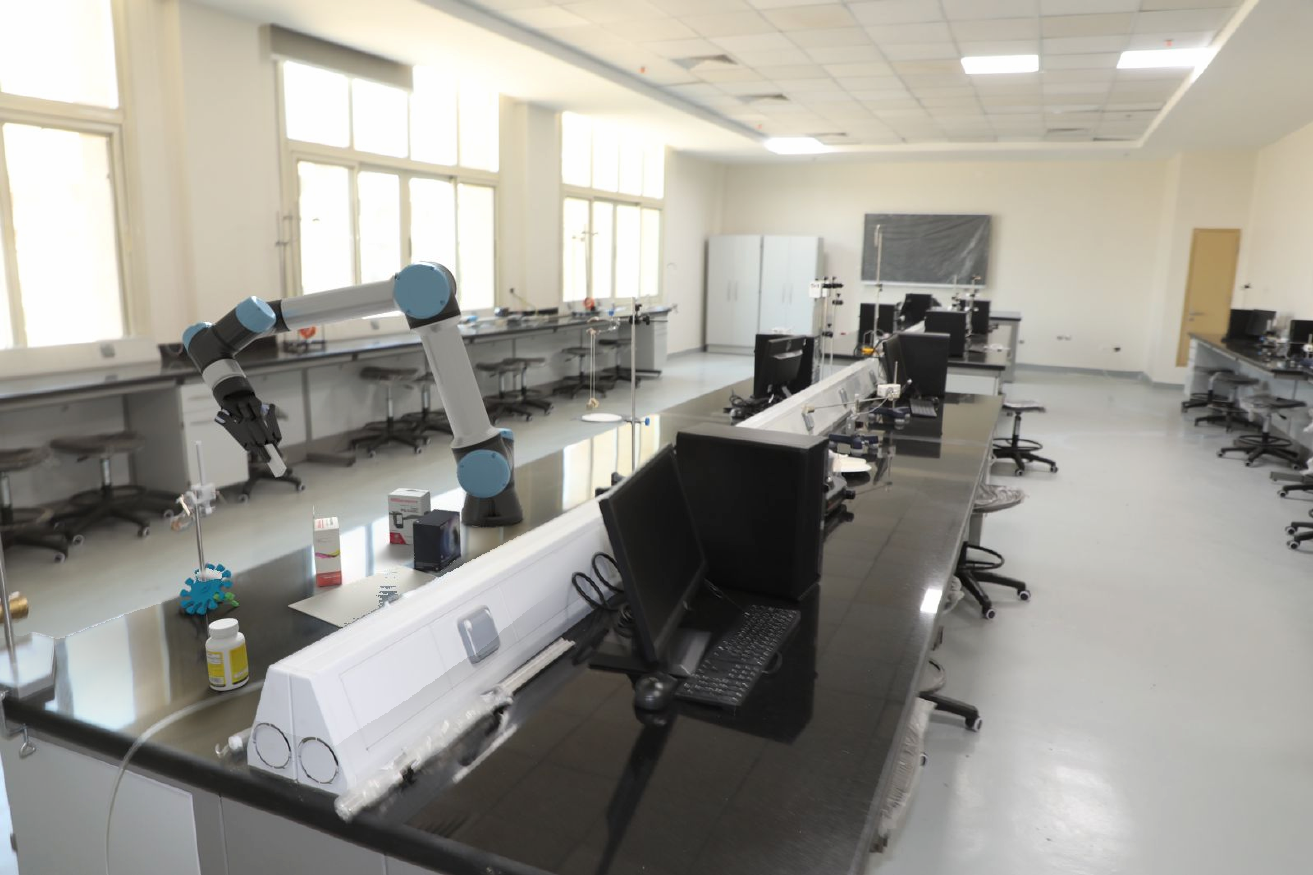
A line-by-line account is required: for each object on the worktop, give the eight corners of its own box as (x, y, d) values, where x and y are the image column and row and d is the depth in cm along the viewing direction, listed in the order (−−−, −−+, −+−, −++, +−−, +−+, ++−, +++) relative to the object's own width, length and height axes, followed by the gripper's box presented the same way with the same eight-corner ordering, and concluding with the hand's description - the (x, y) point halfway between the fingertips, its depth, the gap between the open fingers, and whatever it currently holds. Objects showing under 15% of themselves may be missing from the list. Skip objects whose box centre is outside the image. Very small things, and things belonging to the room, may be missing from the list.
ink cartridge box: (343, 584, 169) (338, 513, 166) (317, 587, 167) (311, 516, 164) (341, 569, 176) (336, 502, 173) (315, 573, 174) (310, 504, 171)
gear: (166, 602, 155) (200, 555, 159) (187, 614, 160) (220, 568, 164) (208, 621, 151) (242, 572, 155) (228, 633, 156) (261, 585, 160)
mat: (400, 566, 179) (400, 565, 179) (459, 584, 169) (459, 584, 169) (288, 606, 158) (288, 605, 158) (348, 630, 148) (348, 629, 148)
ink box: (388, 543, 193) (385, 493, 191) (399, 536, 198) (396, 487, 195) (423, 546, 191) (420, 495, 189) (433, 539, 196) (431, 490, 194)
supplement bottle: (249, 672, 133) (244, 613, 131) (248, 687, 128) (242, 627, 126) (211, 678, 131) (204, 619, 129) (208, 694, 126) (201, 633, 124)
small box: (441, 573, 175) (439, 525, 173) (412, 570, 176) (410, 522, 174) (463, 556, 185) (461, 510, 183) (435, 553, 187) (433, 508, 184)
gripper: (252, 392, 188) (302, 476, 182) (193, 400, 177) (245, 489, 172) (264, 371, 184) (315, 456, 178) (204, 377, 173) (257, 468, 168)
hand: (281, 472), depth 175 cm, fingers closed
